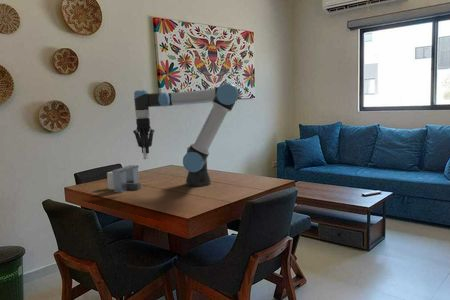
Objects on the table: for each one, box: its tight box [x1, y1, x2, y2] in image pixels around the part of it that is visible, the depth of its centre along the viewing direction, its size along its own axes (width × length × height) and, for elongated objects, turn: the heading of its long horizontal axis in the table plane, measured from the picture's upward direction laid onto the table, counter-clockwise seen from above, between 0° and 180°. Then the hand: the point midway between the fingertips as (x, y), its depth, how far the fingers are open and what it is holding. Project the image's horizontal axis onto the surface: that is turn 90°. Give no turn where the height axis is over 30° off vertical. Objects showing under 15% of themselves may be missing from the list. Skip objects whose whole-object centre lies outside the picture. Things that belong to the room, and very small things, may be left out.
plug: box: [106, 170, 142, 191], centre depth 224 cm, size 20×5×10 cm, turn 70°
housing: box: [111, 164, 140, 194], centre depth 223 cm, size 6×18×13 cm, turn 160°
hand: (146, 158), depth 216 cm, fingers closed
